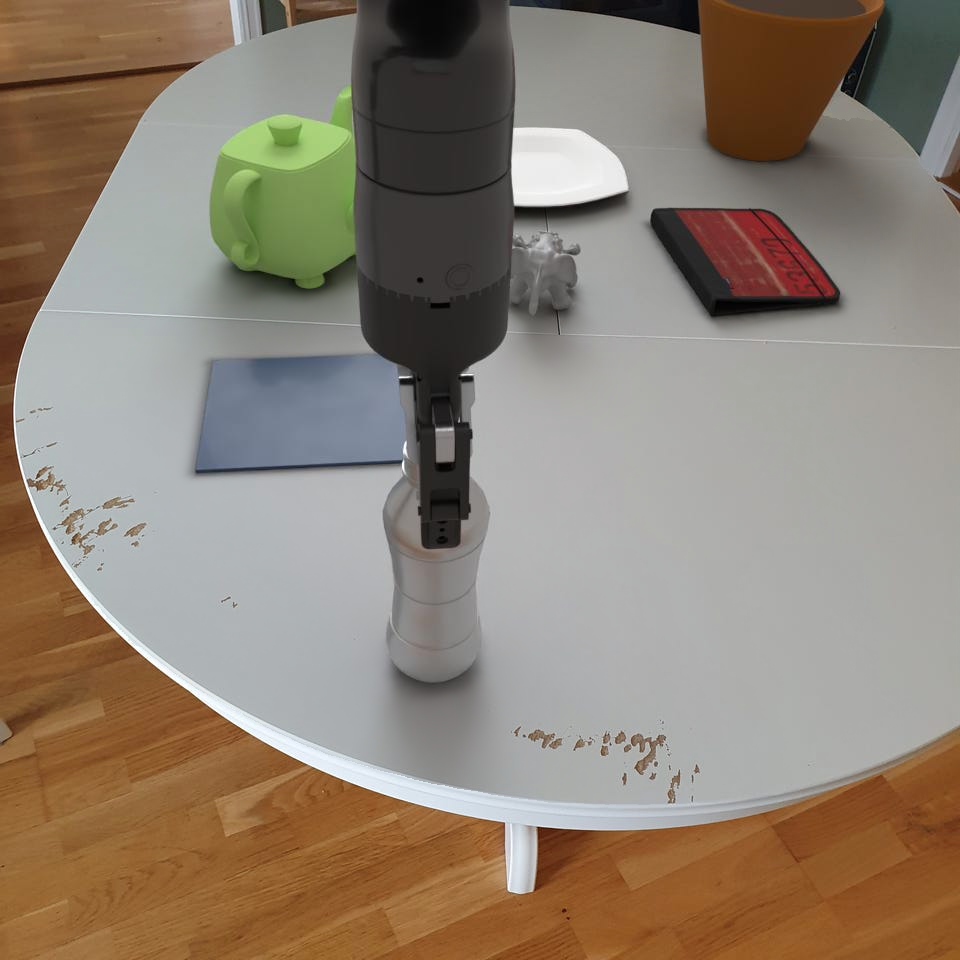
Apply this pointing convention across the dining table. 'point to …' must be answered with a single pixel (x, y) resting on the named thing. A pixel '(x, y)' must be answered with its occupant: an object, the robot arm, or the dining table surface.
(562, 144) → the plate
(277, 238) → the teapot
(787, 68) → the flower pot
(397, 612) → the silver metal bottle
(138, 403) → the dining table surface
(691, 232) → the notebook
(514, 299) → the gray elephant figurine
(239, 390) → the flat rectangular board
